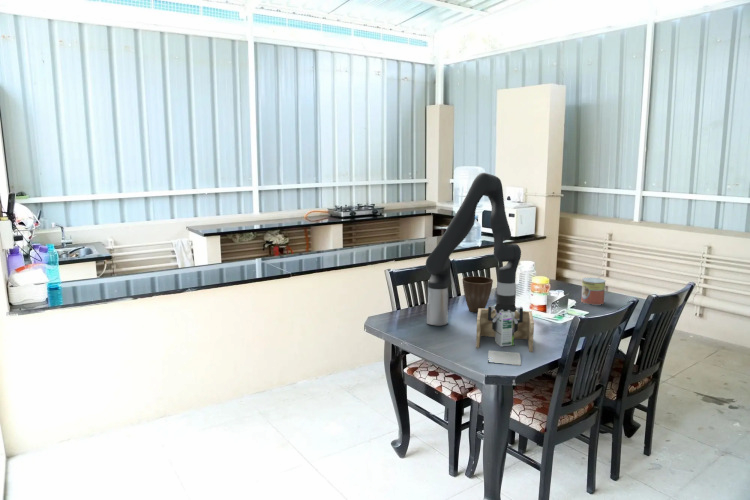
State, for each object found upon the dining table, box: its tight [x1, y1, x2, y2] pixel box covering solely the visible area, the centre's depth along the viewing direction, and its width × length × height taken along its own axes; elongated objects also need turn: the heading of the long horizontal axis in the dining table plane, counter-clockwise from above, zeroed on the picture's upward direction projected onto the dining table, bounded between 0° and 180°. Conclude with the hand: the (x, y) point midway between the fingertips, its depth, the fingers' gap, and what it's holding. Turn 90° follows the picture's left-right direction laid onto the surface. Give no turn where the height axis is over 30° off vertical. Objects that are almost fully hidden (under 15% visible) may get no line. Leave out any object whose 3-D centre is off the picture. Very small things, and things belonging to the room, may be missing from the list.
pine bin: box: [475, 308, 535, 353], centre depth 216 cm, size 22×16×12 cm
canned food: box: [580, 277, 606, 306], centre depth 276 cm, size 11×11×12 cm
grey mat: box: [487, 350, 522, 367], centre depth 201 cm, size 12×12×1 cm
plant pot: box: [461, 275, 494, 313], centre depth 262 cm, size 15×15×16 cm
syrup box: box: [494, 311, 515, 347], centre depth 215 cm, size 6×6×14 cm
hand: (504, 331), depth 215 cm, fingers closed on syrup box, 7 cm apart
